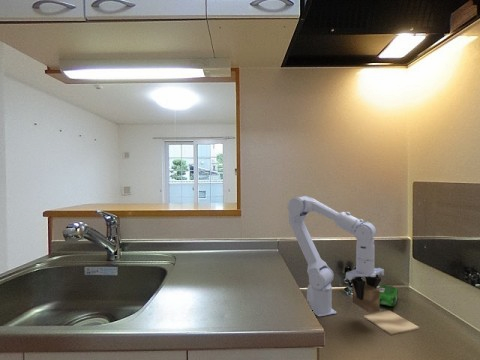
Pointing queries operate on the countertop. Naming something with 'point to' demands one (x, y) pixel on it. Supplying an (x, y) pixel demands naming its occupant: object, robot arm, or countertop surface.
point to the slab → (368, 299)
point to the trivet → (391, 322)
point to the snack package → (388, 295)
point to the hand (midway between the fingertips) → (365, 297)
